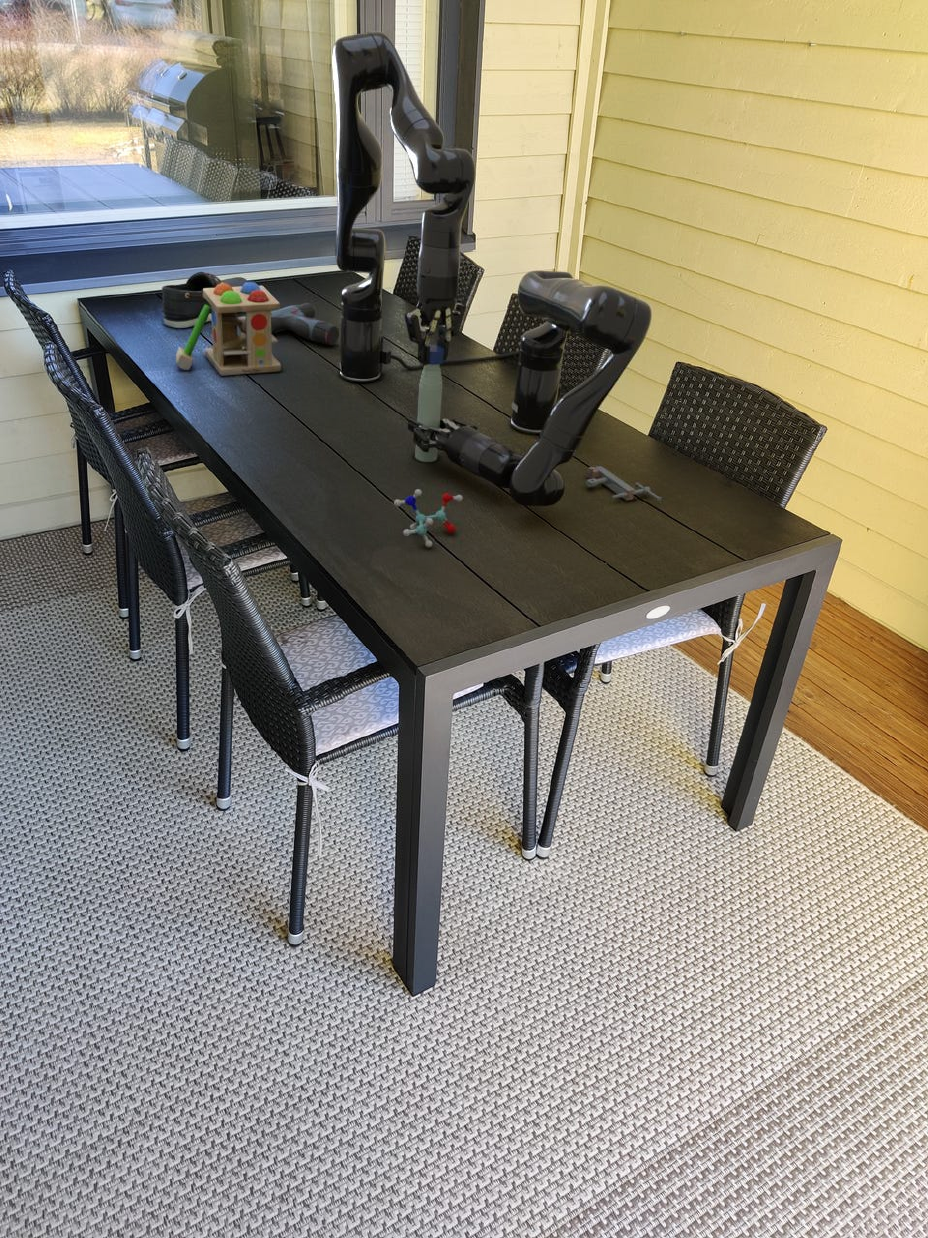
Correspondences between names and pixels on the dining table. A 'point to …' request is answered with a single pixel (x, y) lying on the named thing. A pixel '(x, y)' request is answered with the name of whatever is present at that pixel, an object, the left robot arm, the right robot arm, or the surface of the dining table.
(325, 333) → the power drill
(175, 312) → the boat shoe
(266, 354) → the pounding bench toy
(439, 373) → the bottle
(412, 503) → the molecular model
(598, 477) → the clamp
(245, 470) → the dining table surface
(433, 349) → the cap
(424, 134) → the left robot arm
